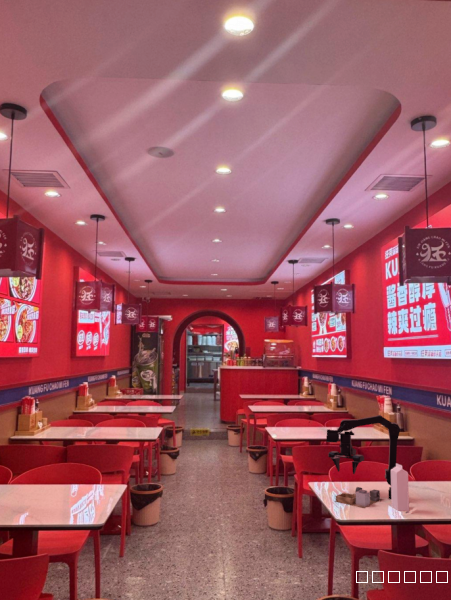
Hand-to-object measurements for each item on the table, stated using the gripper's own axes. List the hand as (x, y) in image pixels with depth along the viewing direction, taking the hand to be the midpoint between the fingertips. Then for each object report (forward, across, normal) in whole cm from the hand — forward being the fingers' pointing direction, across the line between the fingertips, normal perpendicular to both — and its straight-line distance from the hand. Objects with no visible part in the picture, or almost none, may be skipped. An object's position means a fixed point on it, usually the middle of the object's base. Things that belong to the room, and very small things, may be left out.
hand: (346, 472), depth 257 cm
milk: (+12, -32, +7) cm, 35 cm away
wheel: (+11, -9, +1) cm, 14 cm away
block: (+11, -16, +14) cm, 24 cm away
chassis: (+12, -11, +8) cm, 18 cm away
